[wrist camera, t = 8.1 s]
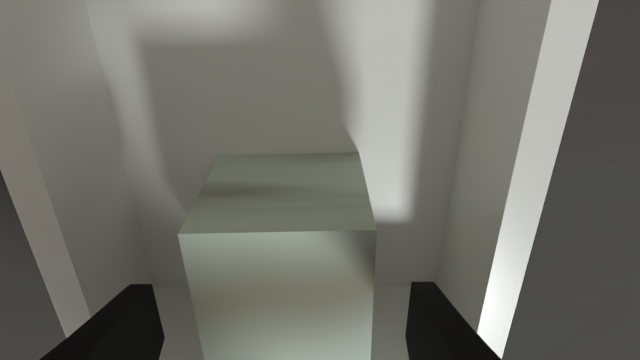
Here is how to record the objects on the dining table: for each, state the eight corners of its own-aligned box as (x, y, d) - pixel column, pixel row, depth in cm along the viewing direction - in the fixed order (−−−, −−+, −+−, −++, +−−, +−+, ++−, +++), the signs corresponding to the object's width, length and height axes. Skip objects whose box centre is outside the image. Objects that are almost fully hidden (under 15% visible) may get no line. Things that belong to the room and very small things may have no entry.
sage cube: (356, 264, 17) (370, 367, 13) (235, 266, 17) (206, 370, 13) (359, 152, 15) (376, 230, 10) (219, 155, 15) (177, 234, 10)
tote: (451, 289, 19) (493, 388, 14) (142, 292, 19) (87, 392, 14) (546, -252, 11) (711, -415, 6) (2, -247, 11) (-226, -406, 6)
